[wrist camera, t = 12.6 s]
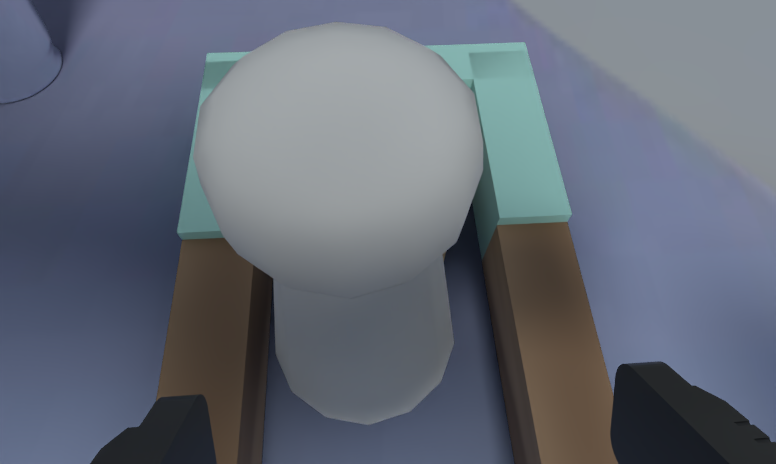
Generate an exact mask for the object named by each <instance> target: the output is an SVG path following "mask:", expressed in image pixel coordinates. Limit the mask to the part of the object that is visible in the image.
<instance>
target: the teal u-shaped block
mask: <svg viewBox="0 0 776 464" xmlns="http://www.w3.org/2000/svg"><path fill="white" fill-rule="evenodd" d="M425 47H427V48H429V49H431V50H432V51H434V52H436V53H437V54H439V55H441V57H442V58H443V59H444V60H445V61H446V62H447V63H448V64H449V66H450V67H451V68H452V69H453V70H454V71H455V72H456V73H457V75H458V76H459V77H460V78H461V79H462V80H463V81H464V82H465V84H466V85H467V86H468V87H469V88H470V89H471V90H472V91H473V93H474V95H475V100H476V106H477V111H478V117H479V122H480V128H481V133H482V138H483V172H482V175H481V178H480V181H479V183H478V186H477V189H476V192H475V194H474V197H473V200H472V204H473V210H474V217H475V223H476V229H477V235H478V241H479V247H480V253H481V260H482V259H483V257H484V254H485V252H486V250H487V247H488V245H489V243H490V240H491V238H492V235H493V233H494V231H495V228H496V226H497V225H509V224H530V223H552V222H567V221H568V220H569V218H570V217H571V216H572V212H571V209H570V205H569V201H568V198H567V194H566V190H565V187H564V183H563V180H562V176H561V172H560V169H559V165H558V161H557V158H556V154H555V150H554V147H553V143H552V139H551V136H550V132H549V128H548V125H547V121H546V117H545V114H544V110H543V106H542V103H541V99H540V95H539V92H538V88H537V84H536V81H535V77H534V73H533V70H532V66H531V62H530V59H529V55H528V51H527V48H526V44H525V42H523V43H493V44H464V45H435V46H425ZM248 53H250V52H230V53H207V57H206V63H205V69H204V75H203V81H202V87H201V93H200V99H199V105H198V111H197V116H196V122H195V128H194V134H193V140H192V146H191V152H190V158H189V164H188V169H187V175H186V181H185V187H184V193H183V199H182V205H181V211H180V217H179V222H178V228H177V234H178V235H179V236H180V238H181V239H182V240H187V239H208V238H224V237H223V235H222V233H221V230H220V228H219V226H218V223H217V221H216V219H215V217H214V214H213V212H212V210H211V207H210V205H209V203H208V201H207V198H206V196H205V194H204V191H203V189H202V187H201V184H200V180H199V177H198V173H197V169H196V166H195V162H194V159H193V153H194V146H195V139H196V132H197V125H198V118H199V111H200V106H201V105H202V103H203V102H204V101H205V99H206V98H207V97H208V96H209V94H210V93H211V92H212V91H213V89H214V88H215V87H216V86H217V84H218V83H219V82H220V81H221V79H222V78H223V77H224V76H225V74H226V73H227V72H228V71H229V69H230V68H231V67H232V66H233V64H235V63H236V62H237V61H238V60H240V59H241V58H242V57H243V56H245V55H246V54H248Z"/></svg>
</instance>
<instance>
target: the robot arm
mask: <svg viewBox="0 0 776 464" xmlns="http://www.w3.org/2000/svg"><path fill="white" fill-rule="evenodd" d="M610 438H611V444H612V449H613V452H614V455H615V457H616V460H617V462H618V464H776V442H771V441H770V439H769V437H768V436H767V435H766V434H765V433H763V432H762V431H761V430H760V429H759V428H757V427H756V426H755V425H750V423H749V420H748V419H746V418H745V417H744V416H743V415H741V414H740V413H739V412H738V411H737V410H735V409H734V408H733V407H732V406H731V405H729V404H728V403H727V402H726V401H724V400H722V399H720V398H718V397H716V396H714V395H712V394H710V393H708V392H706V391H704V390H702V389H701V388H699V387H697V386H691V385H690V384H689V383H688V382H687V381H686V380H684V379H683V378H682V377H681V376H680V375H679V374H677V373H676V372H675V371H674V370H673V369H672V368H670V367H669V366H668V365H667V364H665V363H663V362H645V363H630V364H622V365H620V366H619V367H618V369H617V372H616V377H615V387H614V397H613V407H612V418H611V428H610ZM90 464H217V461H216V454H215V448H214V442H213V436H212V430H211V423H210V417H209V411H208V405H207V401H206V399H205V397H204V395H202V394H199V395H184V396H170V397H161V398H159V399H158V400H157V401H156V402H155V404H154V405H153V407H152V408H151V410H150V411H149V413H148V414H147V416H146V417H145V419H144V420H143V422H142V423H141V425H140V426H139V427H132V428H127V429H126V430H124V431H123V432H122V433H120V434H119V435H118V436H117V437H115V438H114V439H113V440H112V441H110V442H109V443H108V444H107V445H105V446H104V447H103V448H101V450H100V451H99V452H98V454H97V455H96V456H95V458H94V459H93V461H92V462H91V463H90Z"/></svg>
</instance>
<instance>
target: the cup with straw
mask: <svg viewBox="0 0 776 464" xmlns="http://www.w3.org/2000/svg"><path fill="white" fill-rule="evenodd" d="M61 65H62V55H61V53H60V51H59V49H58V48H57V47H56V46H55V45H54V44H53V43H52V42H51V37H50V34H49V31H48V29H47V28H46V26H45V24H44V22H43V21H42V19H41V17H40V15H39V14H38V12H37V10H36V8H35V7H34V5H33V3H32V1H31V0H0V104H1V103H10V102H15V101H19V100H22V99H25V98H28V97H30V96H32V95H34V94H36V93H38V92H39V91H41V90H42V89H44V88H45V87H46V86H47V85H49V84H50V83H51V82H52V81H53V80H54V78H55V77H56V76H57V74H58V73H59V71H60V69H61Z"/></svg>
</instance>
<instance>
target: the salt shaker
mask: <svg viewBox="0 0 776 464" xmlns="http://www.w3.org/2000/svg"><path fill="white" fill-rule="evenodd" d="M193 159H194V162H195V166H196V169H197V173H198V177H199V180H200V184H201V187H202V189H203V191H204V194H205V196H206V198H207V201H208V203H209V205H210V207H211V210H212V212H213V214H214V217H215V219H216V221H217V223H218V226H219V228H220V230H221V233H222V235H223V237H224V238H225V239H226V240H227V242H228V243H229V244H230V245H231V246H232V248H233V249H234V250H235V251H236V253H237V254H238V255H240V256H241V257H243V258H244V259H245V260H247V261H248V262H250V263H251V264H253V265H254V266H256V267H257V268H259V269H260V270H262V271H263V272H264V273H266V274H267V275H269V276H270V277H272V278H273V285H274V317H275V349H276V356H277V359H278V361H279V363H280V366H281V368H282V370H283V373H284V375H285V377H286V380H287V382H288V384H289V387H290V389H291V391H292V392H293V393H294V394H295V395H297V396H298V397H299V398H301V399H302V400H303V401H305V402H306V403H307V404H309V405H310V406H311V407H313V408H314V409H315V410H317V411H318V412H319V413H321V414H322V415H323V416H325V417H327V418H332V419H338V420H343V421H348V422H354V423H359V424H365V425H370V424H374V423H377V422H380V421H383V420H386V419H389V418H392V417H395V416H399V415H402V414H405V413H408V412H411V411H412V410H413V409H414V408H415V407H416V406H417V405H418V404H419V403H420V402H421V401H422V400H423V399H424V398H425V397H426V396H427V395H428V394H429V393H430V392H431V391H432V390H433V389H434V388H435V387H436V386H437V385H438V384H439V383H440V382H441V381H442V378H443V375H444V372H445V369H446V366H447V363H448V360H449V357H450V354H451V351H452V348H453V346H454V337H453V329H452V321H451V313H450V305H449V297H448V290H447V283H446V276H445V269H444V262H443V255H442V254H443V253H444V252H446V251H447V250H448V249H449V248H450V247H451V246H453V245H454V244H455V243H456V242H457V240H458V237H459V235H460V232H461V230H462V227H463V225H464V222H465V219H466V216H467V214H468V211H469V208H470V205H471V203H472V200H473V197H474V194H475V192H476V189H477V186H478V183H479V181H480V178H481V175H482V172H483V138H482V133H481V128H480V122H479V117H478V111H477V106H476V100H475V95H474V93H473V91H472V90H471V89H470V88H469V87H468V86H467V85H466V84H465V82H464V81H463V80H462V79H461V78H460V77H459V76H458V75H457V73H456V72H455V71H454V70H453V69H452V68H451V67H450V66H449V64H448V63H447V62H446V61H445V60H444V59H443V58H442V57H441V55H439V54H437V53H436V52H434V51H432V50H431V49H429V48H427V47H425V46H423V45H421V44H419V43H417V42H415V41H413V40H411V39H409V38H407V37H405V36H403V35H401V34H399V33H397V32H395V31H393V30H391V29H389V28H386V27H380V26H371V25H361V24H351V23H342V22H333V23H327V24H322V25H317V26H311V27H306V28H301V29H295V30H290V31H286V32H284V33H282V34H281V35H279V36H277V37H276V38H274V39H272V40H270V41H269V42H267V43H265V44H263V45H262V46H260V47H258V48H257V49H255V50H253V51H251V52H250V53H248V54H246V55H245V56H243V57H242V58H241V59H240V60H238V61H237V62H236V63H235V64H233V66H232V67H231V68H230V69H229V71H228V72H227V73H226V74H225V76H224V77H223V78H222V79H221V81H220V82H219V83H218V84H217V86H216V87H215V88H214V89H213V91H212V92H211V93H210V94H209V96H208V97H207V98H206V99H205V101H204V102H203V103H202V105H201V106H200V111H199V118H198V125H197V132H196V139H195V146H194V153H193Z"/></svg>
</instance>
